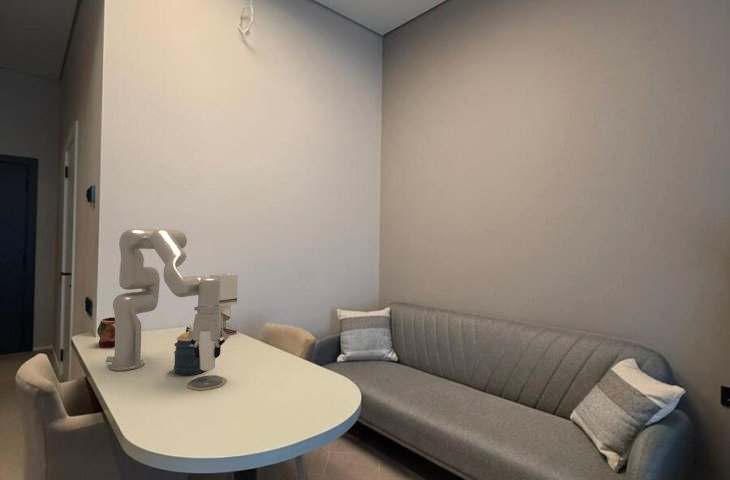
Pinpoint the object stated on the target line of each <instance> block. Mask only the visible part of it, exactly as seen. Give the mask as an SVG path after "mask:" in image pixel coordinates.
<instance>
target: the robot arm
mask: <svg viewBox="0 0 730 480" xmlns="http://www.w3.org/2000/svg"><path fill="white" fill-rule="evenodd" d="M118 242H119V243H118V245H119V251H120V252H119V253H120V263H119V278H118V282H119V283H118V284H119V287H120V288H121V289H122V290H128V291H129V290H141V291H133V292H132V291H131V292H124V293H121V294H119V295H117V296H116V297H115V298H114V299H113V302H112V309H113V314H114V317H115V346H114V356H106V359H105V363H111V364H110V366H109V370H110V371H114V372H124V371H125V372H126V371H132V370H136V369H139V368H142V367H143V366H144V365H145V361H144V360H143V359H142V358H141V353H142V352H141V351H142V348H141V347H142V323H141V320H140V319H139V317H138V314H142V313H148V312H149V313H150V312H152V311H154V310H156V308H157V306H158V303H159V297H160V296H159V295H160V294H159V293H160V283H161V282H160V281H161V280H160V279H161V277H160V273H159V271H158V269H156V268H155V267H153V266H144V262H145V257H144V255H143V253H142V251H141V250H144V249H145V250H155V251H156V254H157V255H158V257H159V258H160V259H161V260H162V262H163V264H164V267H163V280H164V283H165V284H166V286H167V287H168V289H169V290H170V292H171V293H172V294H173V295H174V296H176V297H178V298H187V297H193V296H197V298H198V299H197V301H198V302H197V306H194V309H193V310H194V311H197V313H195V315H194V318H193V319H194V321H193V324H192V327H193V332H191V333H190V334H189V335H188V336H187V339H188V340H189V341H191V343H192V344H193V345H194V347H195V355H196V358H198V357H200V356H199V343H198V341H200V331H211V333H210V337H211V339H210V340H211V341H215V344H216V347H215V358H216V359H217V358H218V357H219V356H221V351H222V349H221V348H222V347H221V346H222V345H223V344H224V343H225V342H226V341H228V339H229V338H230V336H229V335H228V334H226V333H225V332H224V331H223V324H222V317H221V313H219V291H220V281H219V279H218V278H213V277H210V276H209V277H208V276H203V275H195V276H182V274H180V272H179V271H178V269H177V267H179V266H181V265H183V263H184V262H185V261H186V259H187V254H186V252H185V251H184V248H185V247H186V245H188V243H187V242H188V239H187V236H186V235H185V233H184V232H183V231H181V230H179V229H165V228H164V229H161V228H159V229H153V228H152V229H150V228H131V229H127V230H125V231H123V233H122V234H121V235H120V238H119V240H118ZM222 336H223V337H222ZM221 338H223V339H221Z"/></svg>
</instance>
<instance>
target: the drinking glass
mask: <svg viewBox="0 0 730 480" xmlns="http://www.w3.org/2000/svg"><path fill="white" fill-rule="evenodd" d="M210 333H211V331H200V341H198V343H199V356H200V369H201V370H203V371H205V372H208V371H211V370H214V369H215V368H216V359H217V358H215V347H216V344H215V341H211V340H210V339H211V337H210Z"/></svg>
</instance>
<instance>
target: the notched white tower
mask: <svg viewBox="0 0 730 480" xmlns="http://www.w3.org/2000/svg"><path fill="white" fill-rule="evenodd" d="M209 277H213V278H218V279H219V281H220V291H219V313H221V317H222V324H223V331H224V332H225V333H226V334H228V335H229V337H230V336H234V335H237V330H235V329H232V328H227V321H228V320H230V319H231V306H233V305H237V304H238V286H239V285H238V283H239V282H238V277H239V275H238V274H231V275H230V274H228V273H220V274H219V273H217V274H209ZM221 338H224V337H223V336H222V337H221Z"/></svg>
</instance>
